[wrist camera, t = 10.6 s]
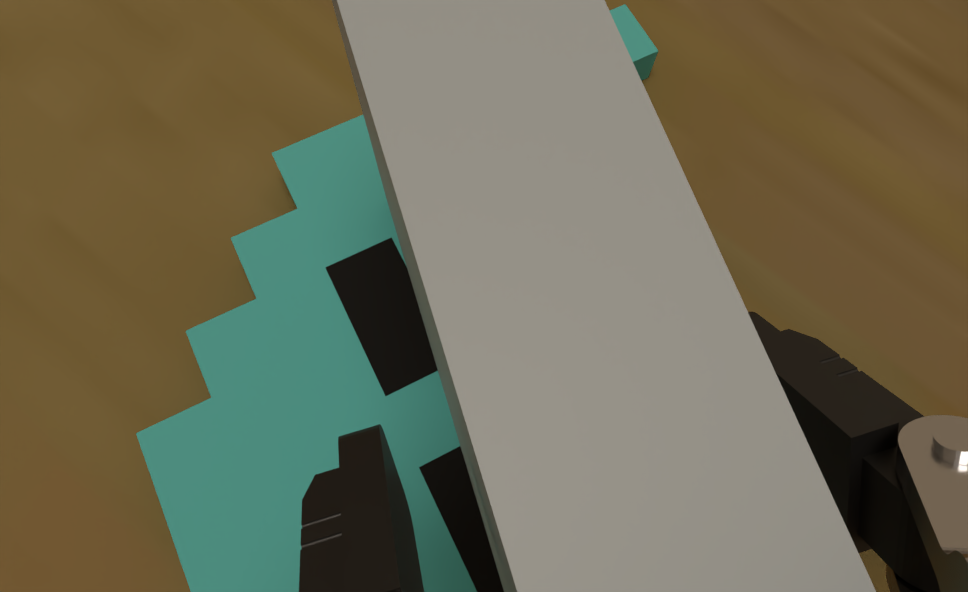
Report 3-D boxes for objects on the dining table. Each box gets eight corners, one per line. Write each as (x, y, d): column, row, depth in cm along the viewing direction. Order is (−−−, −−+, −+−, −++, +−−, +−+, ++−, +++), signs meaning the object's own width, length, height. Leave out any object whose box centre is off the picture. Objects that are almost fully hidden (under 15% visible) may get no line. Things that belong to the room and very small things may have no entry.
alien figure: (613, 46, 26) (105, 265, 23) (625, 4, 24) (68, 238, 21) (950, 536, 21) (338, 913, 18) (1003, 537, 19) (320, 965, 15)
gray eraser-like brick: (529, 676, 17) (626, 951, 6) (387, 201, 22) (287, -161, 10) (657, 630, 18) (976, 809, 6) (492, 172, 22) (508, -209, 11)
